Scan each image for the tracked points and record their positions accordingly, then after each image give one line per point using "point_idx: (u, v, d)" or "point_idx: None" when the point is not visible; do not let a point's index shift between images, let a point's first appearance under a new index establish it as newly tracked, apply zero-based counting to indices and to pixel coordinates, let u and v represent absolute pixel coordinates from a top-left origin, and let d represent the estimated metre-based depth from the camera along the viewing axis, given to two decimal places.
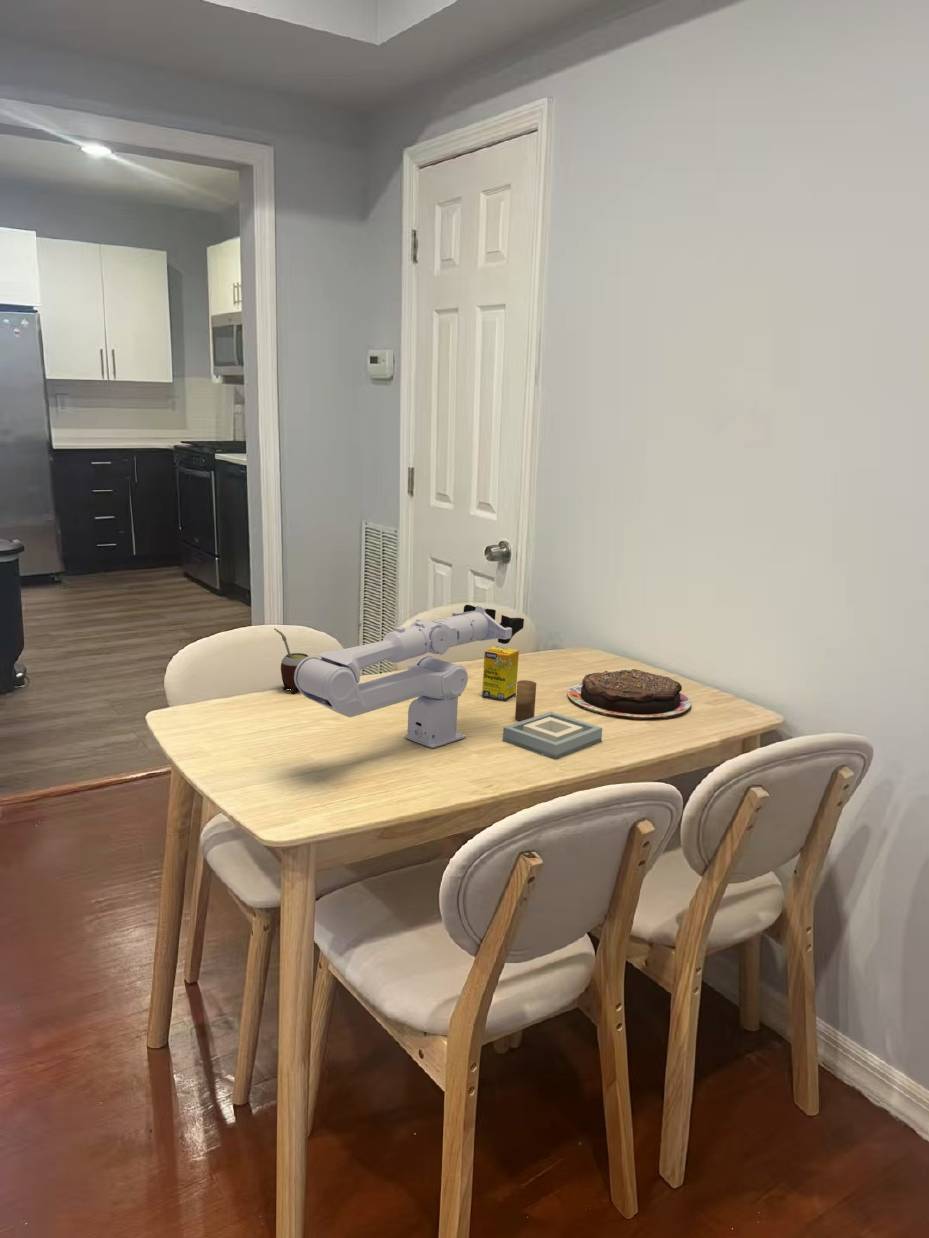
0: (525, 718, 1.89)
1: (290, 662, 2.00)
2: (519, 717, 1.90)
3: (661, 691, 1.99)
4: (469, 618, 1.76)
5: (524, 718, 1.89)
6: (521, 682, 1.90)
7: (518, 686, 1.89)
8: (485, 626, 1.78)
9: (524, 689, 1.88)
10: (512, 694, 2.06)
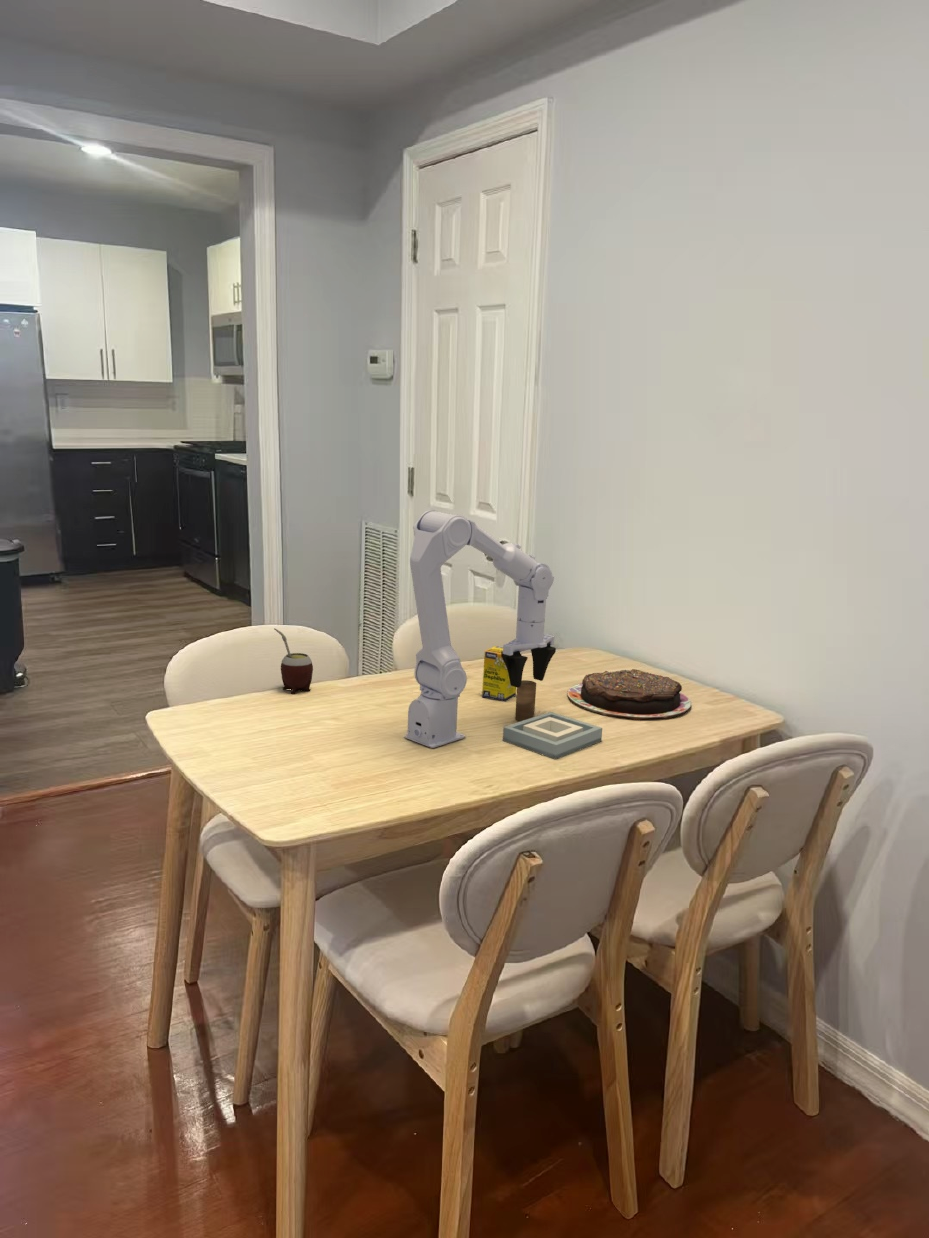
0: (525, 718, 1.89)
1: (290, 662, 2.00)
2: (519, 717, 1.90)
3: (661, 691, 1.99)
4: (536, 623, 1.84)
5: (524, 718, 1.89)
6: (521, 682, 1.90)
7: None
8: (523, 638, 1.85)
9: (524, 689, 1.88)
10: (512, 694, 2.06)
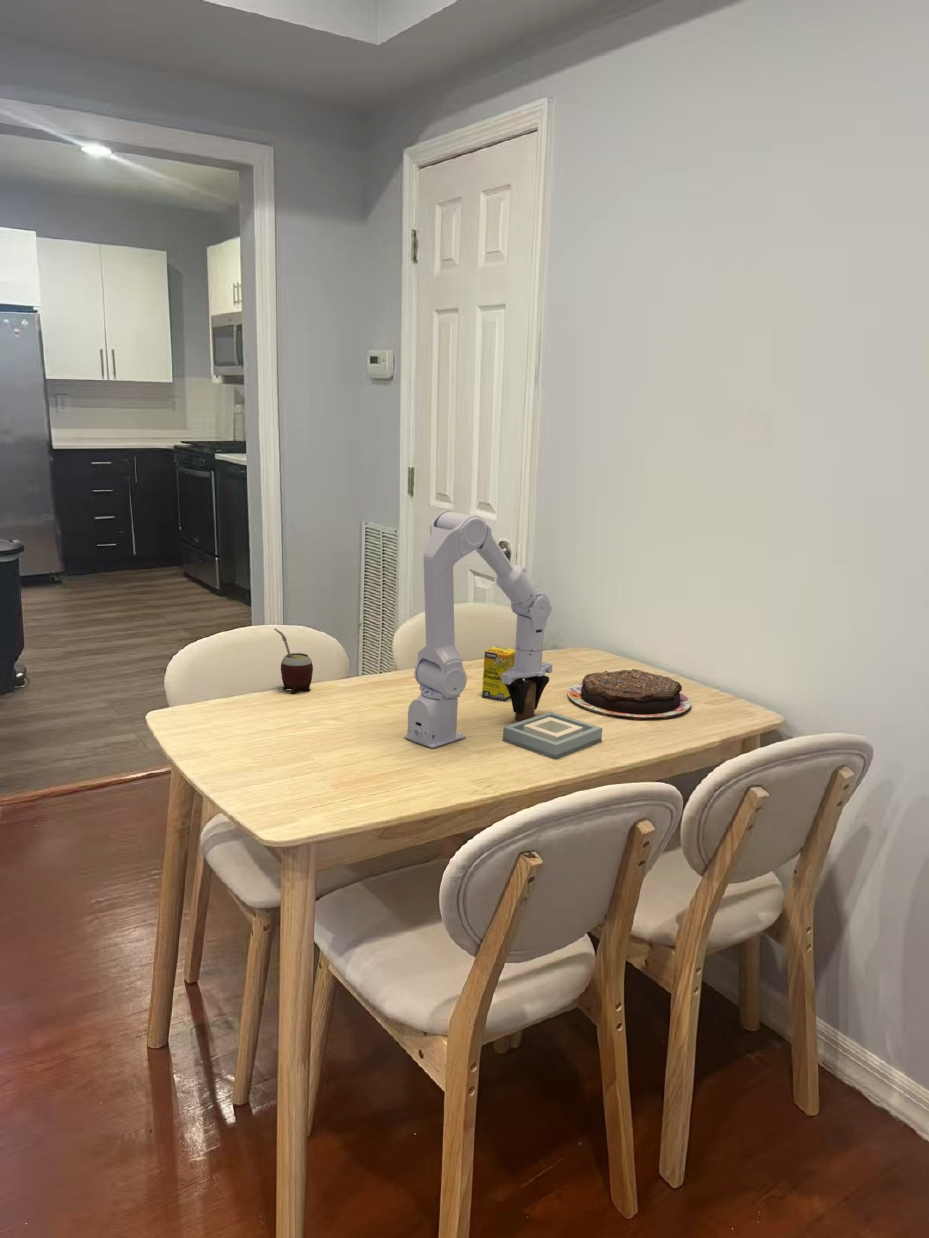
0: (525, 718, 1.89)
1: (290, 662, 2.00)
2: (519, 716, 1.90)
3: (661, 691, 1.99)
4: (534, 652, 1.85)
5: (524, 718, 1.89)
6: None
7: None
8: (522, 667, 1.86)
9: None
10: None
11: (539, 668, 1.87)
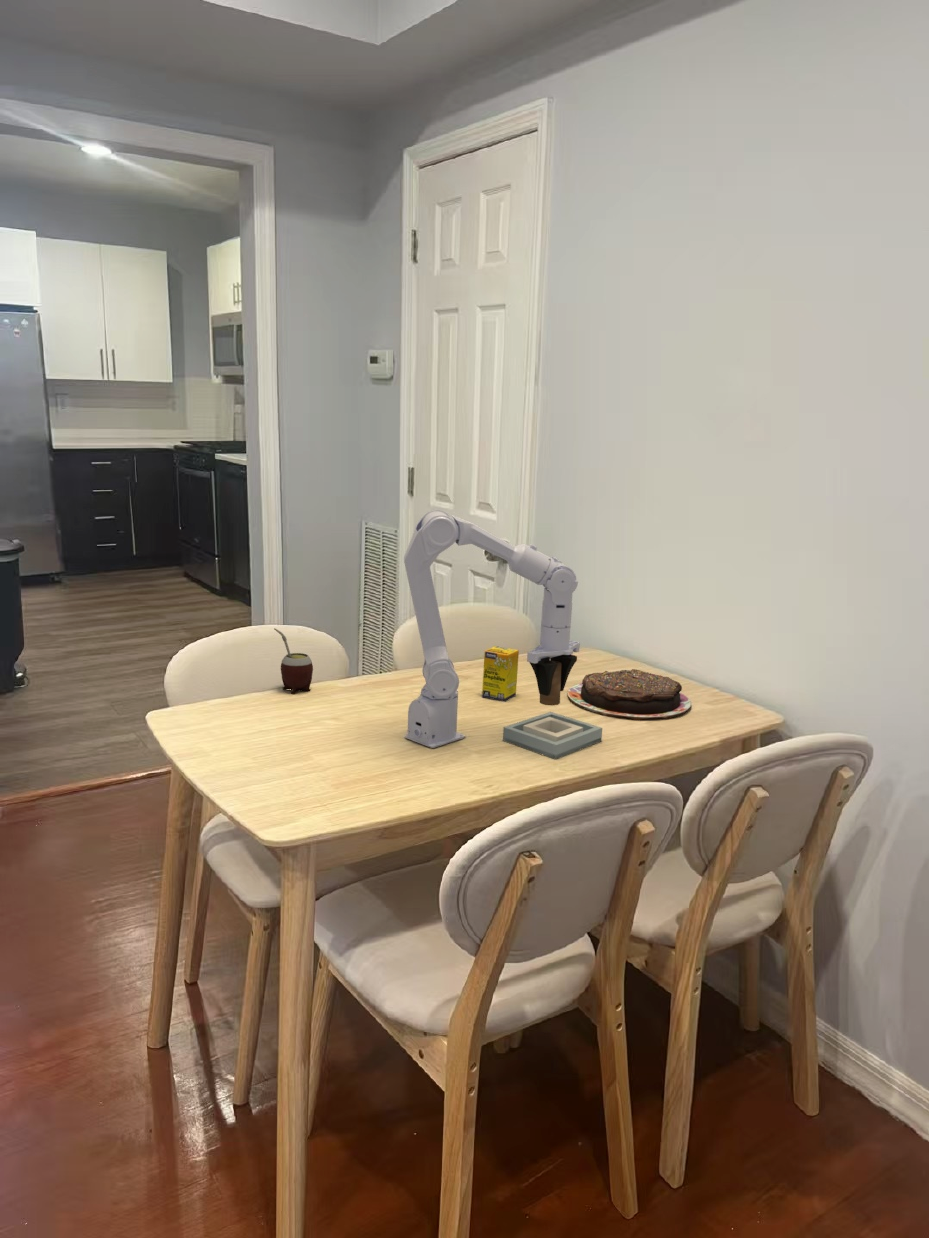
0: (550, 701, 1.77)
1: (290, 662, 2.00)
2: (543, 699, 1.78)
3: (661, 691, 1.99)
4: (562, 629, 1.73)
5: (549, 701, 1.77)
6: None
7: None
8: (548, 645, 1.74)
9: None
10: (512, 694, 2.06)
11: (567, 646, 1.75)
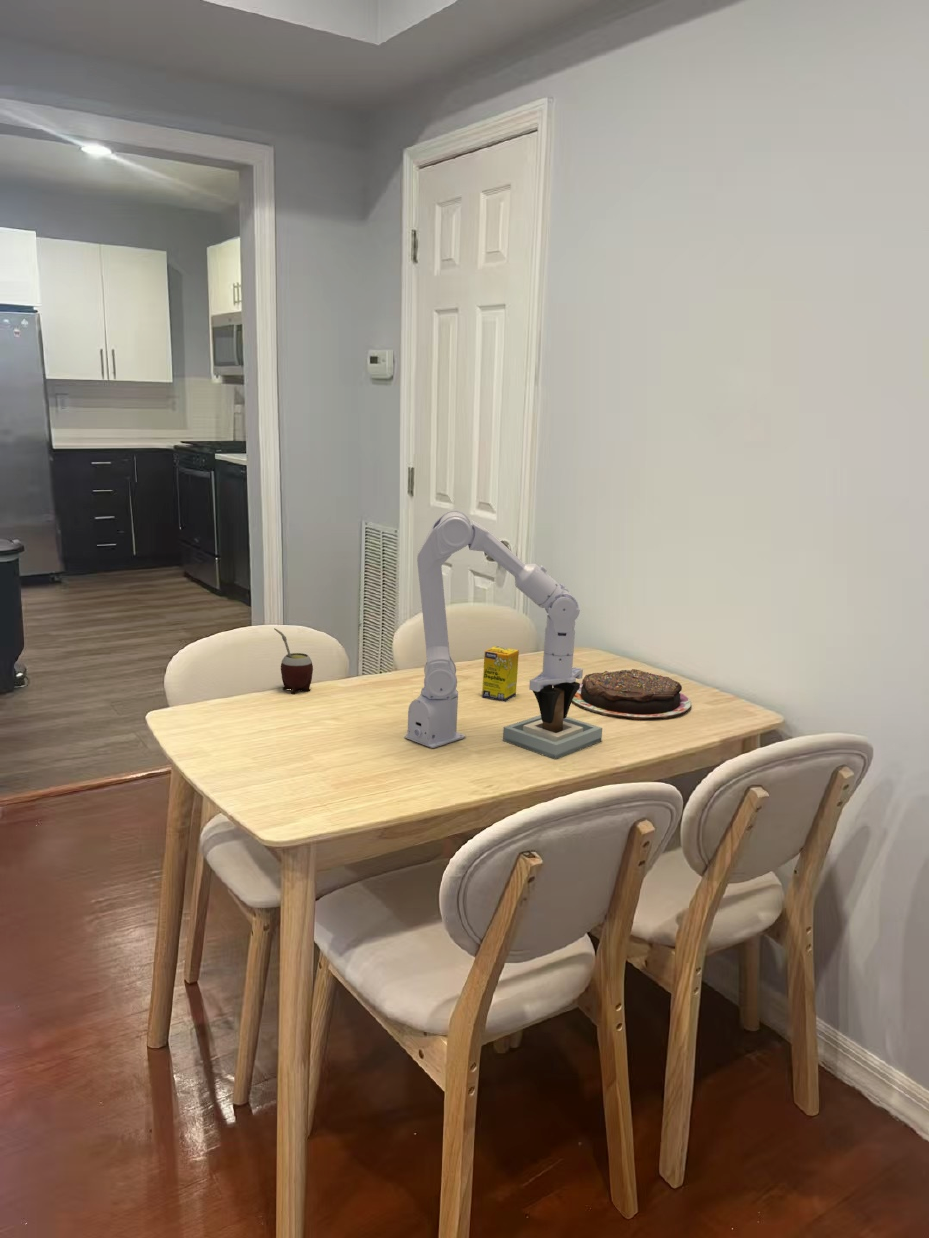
0: (552, 728, 1.77)
1: (290, 662, 2.00)
2: (546, 726, 1.77)
3: (661, 691, 1.99)
4: (564, 657, 1.73)
5: (551, 728, 1.77)
6: None
7: None
8: (551, 673, 1.74)
9: None
10: (512, 694, 2.06)
11: (570, 674, 1.74)
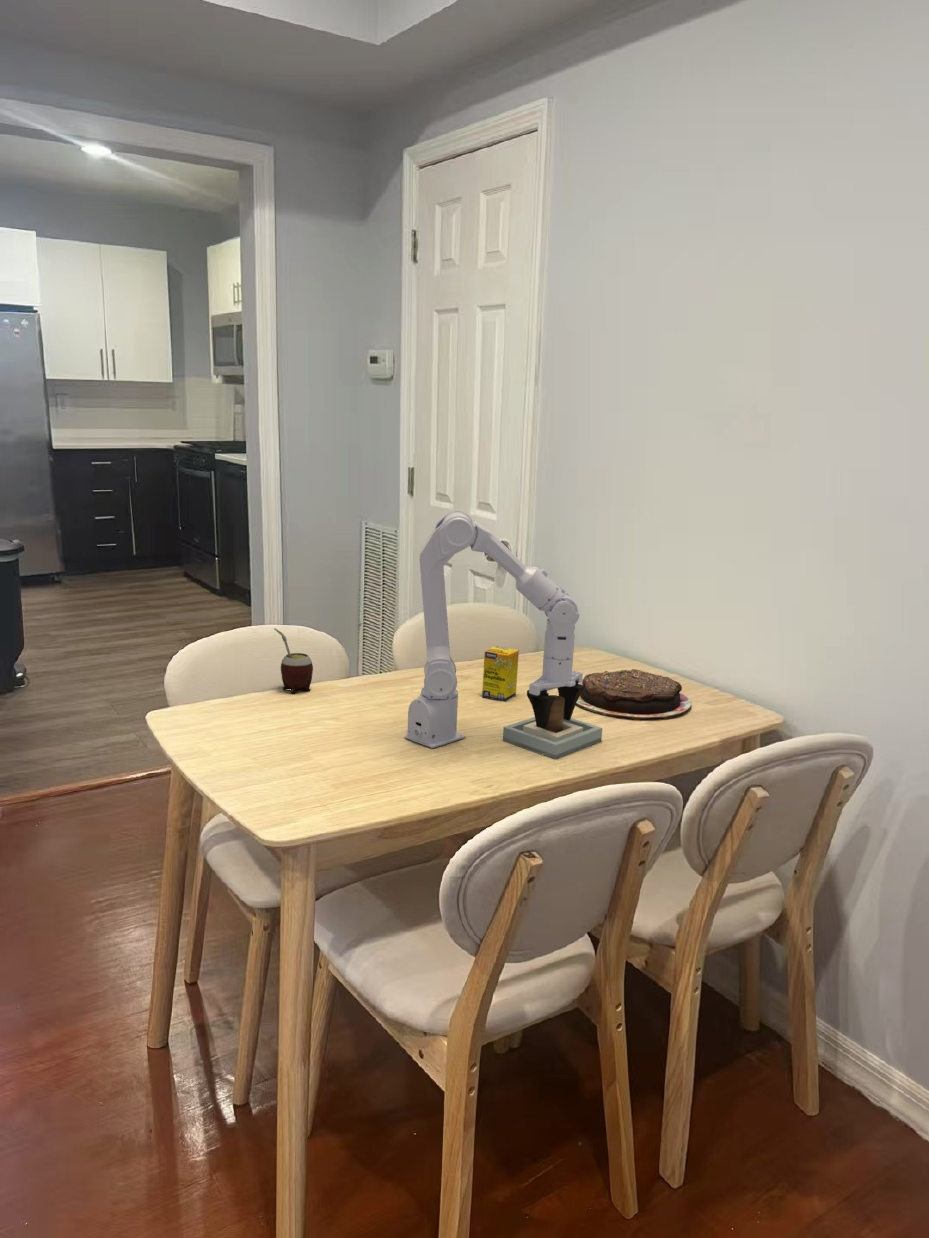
0: None
1: (290, 662, 2.00)
2: None
3: (661, 691, 1.99)
4: (564, 661, 1.73)
5: None
6: None
7: None
8: (551, 676, 1.74)
9: None
10: (512, 694, 2.06)
11: (569, 678, 1.75)
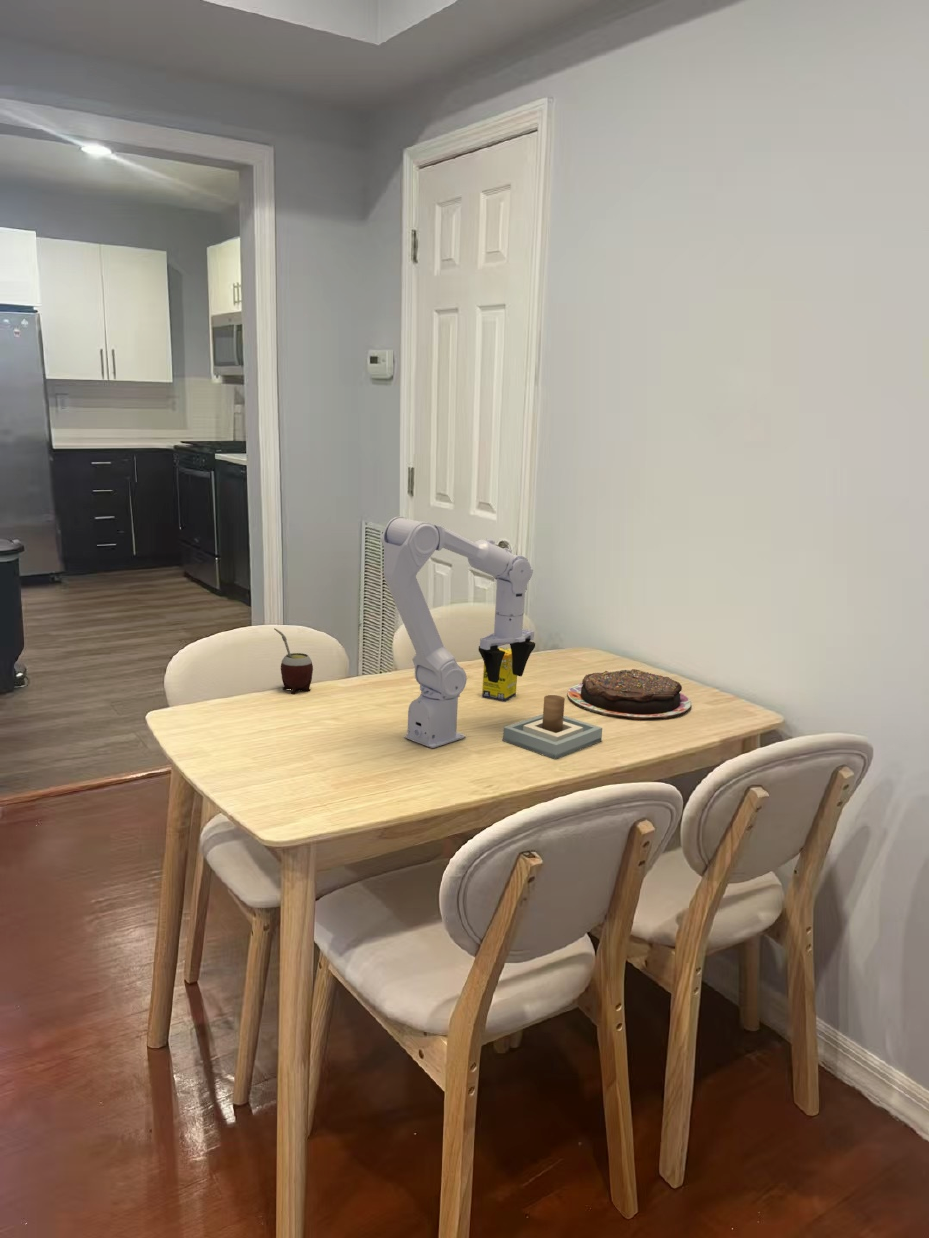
0: None
1: (290, 662, 2.00)
2: None
3: (661, 691, 1.99)
4: (514, 617, 1.80)
5: None
6: (548, 697, 1.78)
7: (545, 701, 1.77)
8: (501, 632, 1.81)
9: (551, 705, 1.76)
10: (512, 694, 2.06)
11: (519, 634, 1.82)
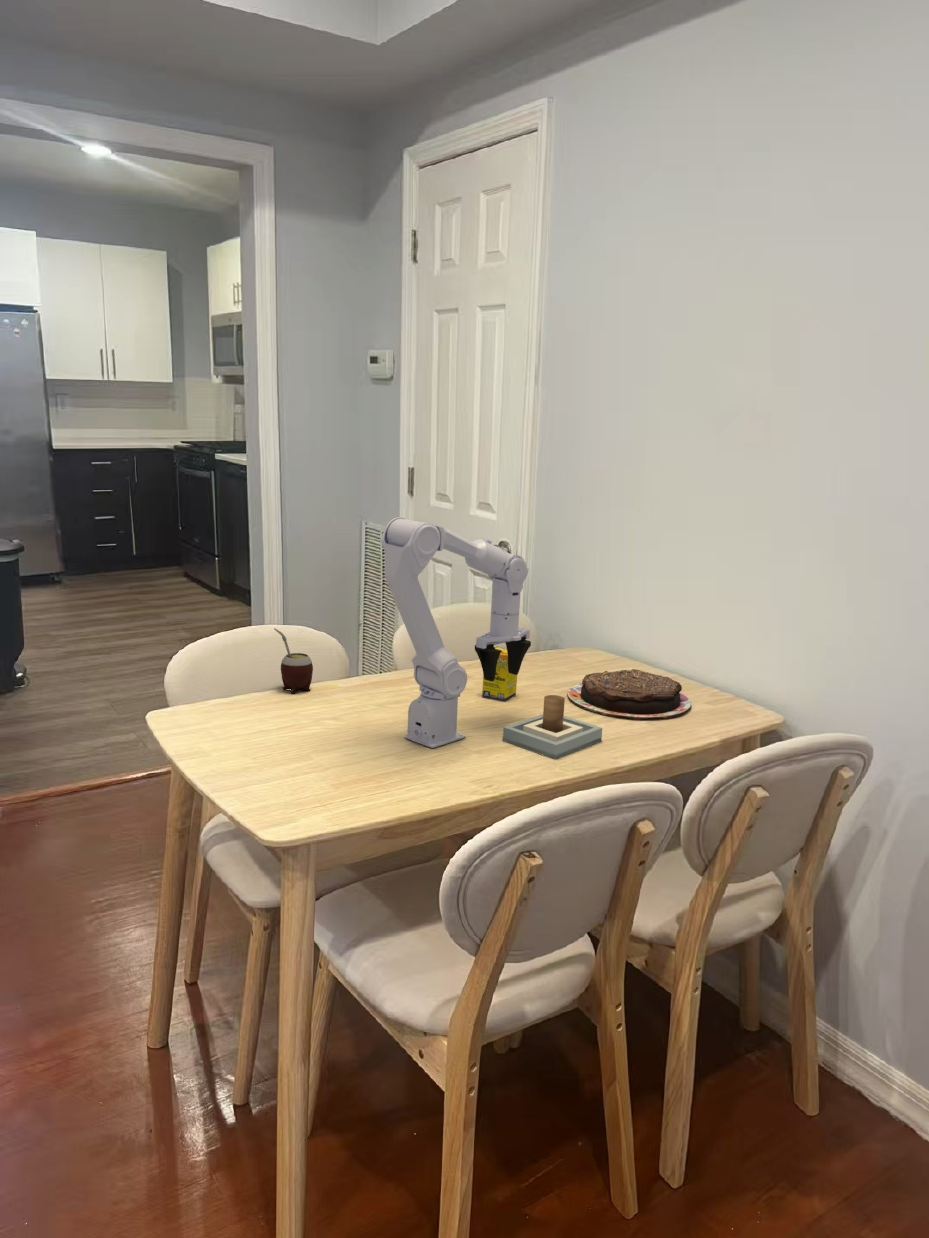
0: None
1: (290, 662, 2.00)
2: None
3: (661, 691, 1.99)
4: (510, 616, 1.81)
5: None
6: (548, 697, 1.78)
7: (545, 701, 1.77)
8: (497, 631, 1.82)
9: (551, 705, 1.76)
10: (512, 694, 2.06)
11: (515, 633, 1.82)
